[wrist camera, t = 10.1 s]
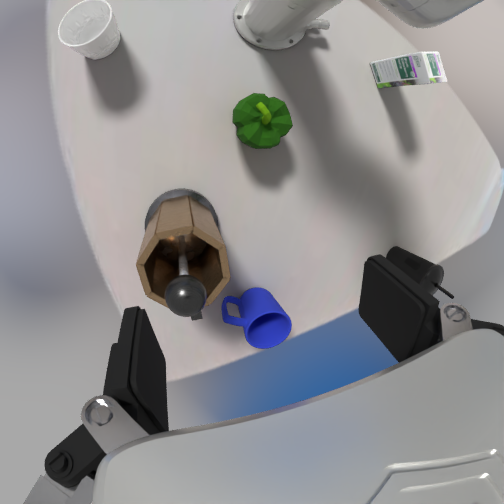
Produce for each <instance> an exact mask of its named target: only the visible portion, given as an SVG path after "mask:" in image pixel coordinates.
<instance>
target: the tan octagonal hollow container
mask: <svg viewBox="0 0 504 504" xmlns="http://www.w3.org/2000/svg"><path fill="white" fill-rule="evenodd" d="M190 233H193V234H194V235H196V236H197V237H199V238H201V239H202V240H204V241H205V242H207V244H206V246H205V248H204V250H203V251H202V252H201V254H199V255H198V256H197V257H196V258H194V259H191V260H188V261H187V263H188V273H189V275H192V276H194V277H196V278H198V279H199V280H200V281H201V282H202V283H203V285H204V287H205V289H206V293H207V299H206V303H205V305H204V306H208V305H209V304H211V303H212V302H213V301H214V300H215V298H216V297H217V296H218V295H219V293H220V292H221V291H222V289H223V288H224V287H225V286H226V284H227V283H228V282H229V280H230V278H231V277H230V271H229V265H228V259H227V253H226V247H225V244H224V242H223V240H222V237H221V235H220V233H219V230H218V220H217V215H216V213H215V210H214V208H213V206H212V205H211V203H210V202H209V201H208V200H207V199H206V198H205V197H204V196H203V195H201V194H200V193H198V192H196V191H193V190H190V189H174V190H170V191H168V192H165V193H164V194H162V195H160V196H159V197H158V198H157V199H156V200H155V201H154V202H153V203H152V205H151V206H150V208H149V210H148V213H147V216H146V219H145V235H144V238H143V242H142V245H141V248H140V252H139V255H138V259H137V262H136V267H137V270H138V273H139V276H140V280H141V283H142V286H143V289H144V292H145V295H147V297H148V298H150V299H152V300H154V301H156V302H158V303H160V304H162V305H164V306H166V307H167V308H169V307H168V306H167V304H166V301H165V290H166V287H167V285H168V283H169V282H170V281H171V280H172V279H173V278H175V277H176V276H179V261H174V260H171V259H169V258H167V257H166V256H165V255H164V254H163V253H162V252H161V251H160V250H159V248H158V246H157V243H158V241H159V240H161V239H165V238H170V237H175V236H180V235H185V234H190ZM191 319H192V321H193V320H198V319H203V318H202V312H201V311H200V312H199V313H197V314H195V315H193V316H191Z"/></svg>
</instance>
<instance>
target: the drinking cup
mask: <svg viewBox="0 0 504 504" xmlns="http://www.w3.org/2000/svg"><path fill="white" fill-rule="evenodd" d="M386 259H387V260H389V261H390V262H391V263H393V264H394V265H395V266H396V267H398V268H399V269H400V270H402V271H403V272H404V273H405V274H407V275H408V276H409V277H410V278H412V279H413V280H414V281H415V282H417V283H418V284H419V285H420V286H421V287H423V288H424V289H425V290H426V291H427V292H429V293H430V294H431V295H433V294H434V293H435V292H436V291H437V290H438V289H439V290H441V291H442V292H443V293H445V294H446V295H448V296H449V297H450V298H452V299H453V298H454V296H453V295H452V294H450V293H449V292H448V291H446V290H445V289H444V288H442V287H441V286H440V285H441V283H442V280H443V276H444V271H443V268H442V267H441V266H440V265H435V264H433V263H431V262H429V261H427V260H425V259H423V258H421V257H419V256H417V255H415V254H413V253H410V252H408V251H406V250H404V249H402V248H400V247H397V246H396V247H393V248H391V249H390V251H389V252H388V254H387V257H386Z"/></svg>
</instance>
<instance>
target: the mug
mask: <svg viewBox="0 0 504 504" xmlns="http://www.w3.org/2000/svg"><path fill="white" fill-rule="evenodd" d="M227 302H230V303H234V304H236V305H238V307H239V312H240V316H241V318H238V317H234V316H230V315H228V311H227V306H226V303H227ZM222 316H223V321H224V322H225V323H228V324H232V325H237V326H243V329H244V333H245V337H246V340H247V341H248V343H249V344H250V345H252V346H253V347H256V348H261V349H265V348H271V347H274V346H276V345H278V344H280V343H281V342H283V341H284V340H285V339H286V338H287V336H288V335H289V333H290V331H291V326H292V324H291V320H290V318H289V316H288V315H287V314H286V312H285V311H284V310H283V309H282V307H281V306H280V305H279V303H278V302H277V301H276V300H275V298H274V297H273V296H272V295H271V293H270V292H269V291H267V290H266V289H263V288H251V289H249V290H247V291H246V292H244V293H243V295H242V296H241V298H240V299H238V298H236V297H233V296H227V297H225V298H224V300H223V302H222Z"/></svg>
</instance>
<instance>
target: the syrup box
mask: <svg viewBox="0 0 504 504" xmlns="http://www.w3.org/2000/svg"><path fill="white" fill-rule="evenodd" d="M370 65H371V68H372V71H373V74H374V77H375V80H376V83H377V86H378V88H385V87H394V86H405V85H420V84H431V83H439V82H447V78H446V76H445V72H444V69H443V65H442V61H441V58H440V55H439V52H416V53H411V54H406V55H401V56H397V57H392V58H388V59H383V60H379V61H374V62H370Z"/></svg>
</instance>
